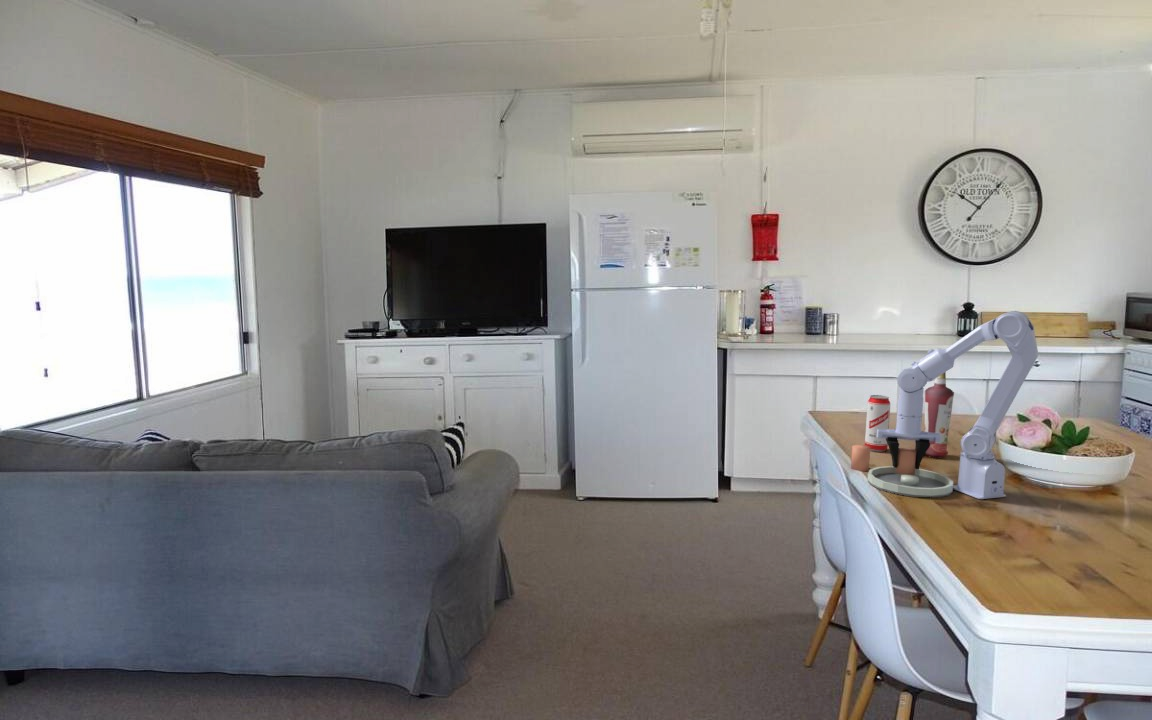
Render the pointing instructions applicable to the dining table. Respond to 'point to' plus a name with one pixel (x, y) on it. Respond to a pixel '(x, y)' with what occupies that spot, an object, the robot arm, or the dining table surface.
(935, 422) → the liquor
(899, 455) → the salmon rounded capsule
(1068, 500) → the dining table surface
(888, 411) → the beer can
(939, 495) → the groove tray
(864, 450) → the reddish brown rounded cylinder
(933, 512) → the dining table surface
